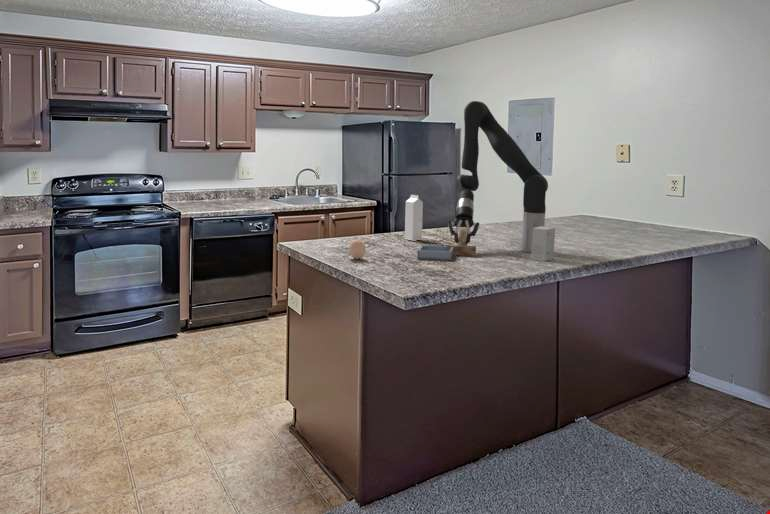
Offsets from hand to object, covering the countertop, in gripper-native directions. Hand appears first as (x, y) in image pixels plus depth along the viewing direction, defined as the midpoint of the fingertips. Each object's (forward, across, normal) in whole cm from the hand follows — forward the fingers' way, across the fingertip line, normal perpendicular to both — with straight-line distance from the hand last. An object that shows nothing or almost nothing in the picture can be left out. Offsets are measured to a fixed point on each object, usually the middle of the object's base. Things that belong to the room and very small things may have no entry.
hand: (462, 242), depth 240 cm
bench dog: (+6, 0, +1) cm, 6 cm away
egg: (+20, -40, -12) cm, 46 cm away
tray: (+10, -10, -3) cm, 15 cm away
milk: (-18, -25, +25) cm, 40 cm away
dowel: (+3, 0, +5) cm, 5 cm away
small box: (+6, +33, +2) cm, 33 cm away
